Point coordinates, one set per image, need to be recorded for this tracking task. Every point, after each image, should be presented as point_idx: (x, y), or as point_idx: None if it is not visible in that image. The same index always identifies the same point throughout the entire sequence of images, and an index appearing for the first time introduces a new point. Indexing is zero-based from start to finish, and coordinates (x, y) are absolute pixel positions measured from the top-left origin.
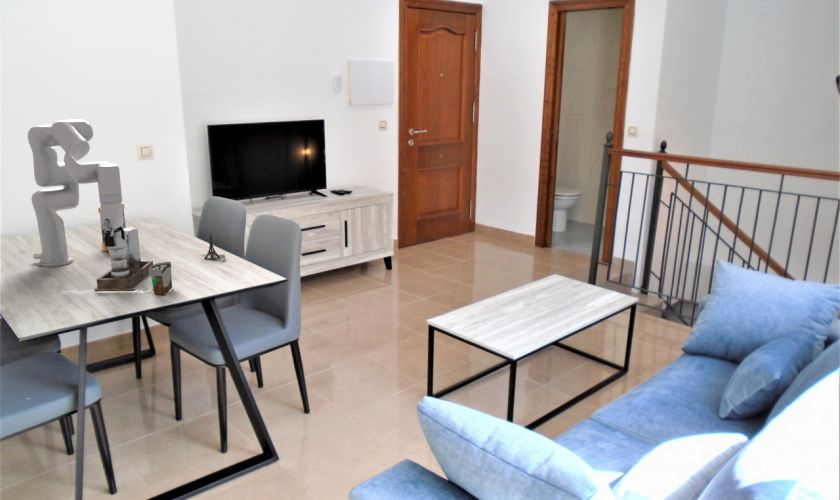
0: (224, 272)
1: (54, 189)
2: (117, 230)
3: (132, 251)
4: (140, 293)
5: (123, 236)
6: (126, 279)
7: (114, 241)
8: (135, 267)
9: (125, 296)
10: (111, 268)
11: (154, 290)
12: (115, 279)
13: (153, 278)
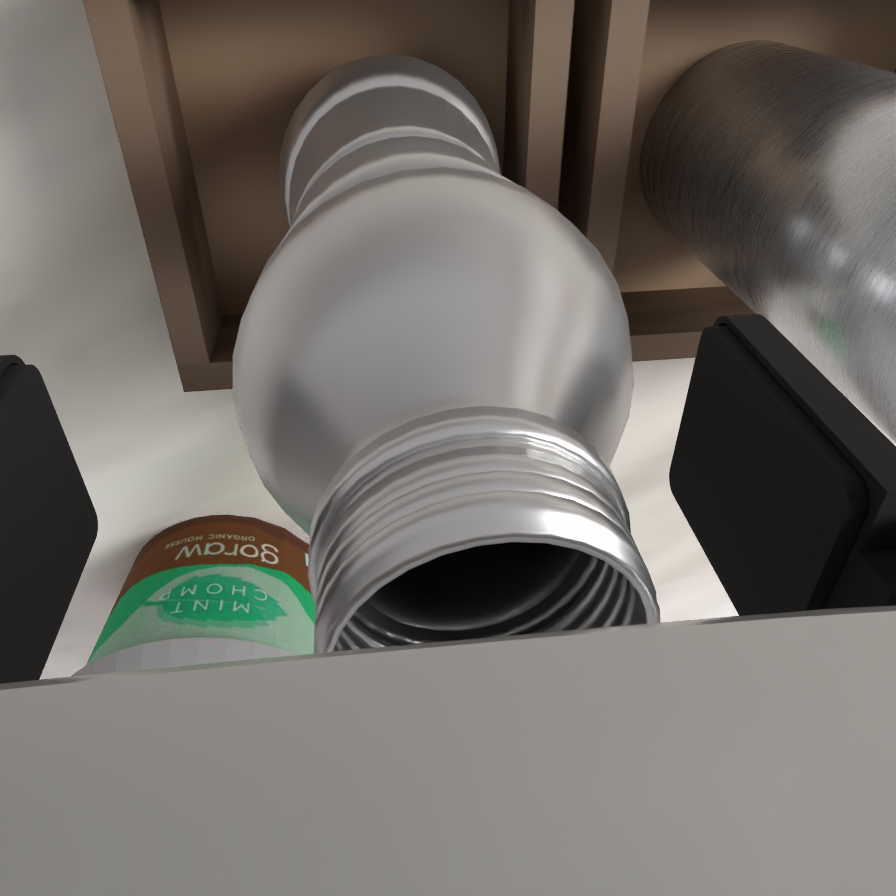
0: None
1: None
2: (820, 556)
3: (788, 329)
4: (149, 433)
5: (700, 538)
6: (176, 357)
7: (289, 491)
8: (687, 248)
9: (29, 348)
10: (336, 118)
11: (140, 562)
12: (144, 235)
13: (90, 662)
